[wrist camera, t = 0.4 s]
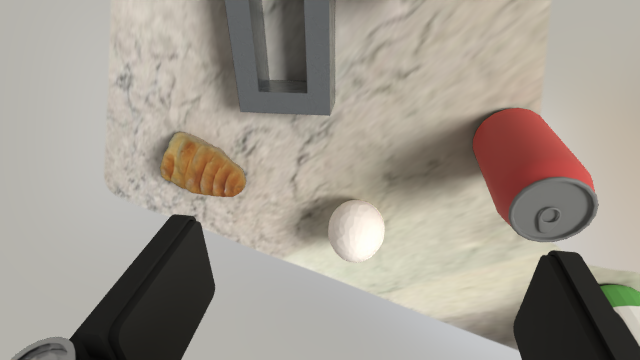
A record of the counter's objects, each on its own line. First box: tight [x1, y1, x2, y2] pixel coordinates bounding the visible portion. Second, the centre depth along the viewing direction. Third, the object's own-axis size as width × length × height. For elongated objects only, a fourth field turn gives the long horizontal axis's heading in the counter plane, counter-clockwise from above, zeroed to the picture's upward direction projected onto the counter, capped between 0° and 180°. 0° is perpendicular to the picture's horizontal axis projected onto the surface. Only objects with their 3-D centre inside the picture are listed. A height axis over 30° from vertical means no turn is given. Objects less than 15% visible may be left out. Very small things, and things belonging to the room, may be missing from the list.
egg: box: [328, 200, 385, 263], centre depth 40 cm, size 6×6×8 cm
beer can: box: [473, 108, 599, 242], centre depth 31 cm, size 7×7×12 cm
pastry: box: [160, 132, 246, 197], centre depth 42 cm, size 9×7×4 cm
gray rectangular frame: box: [225, 0, 335, 116], centre depth 32 cm, size 16×8×4 cm, turn 1°
